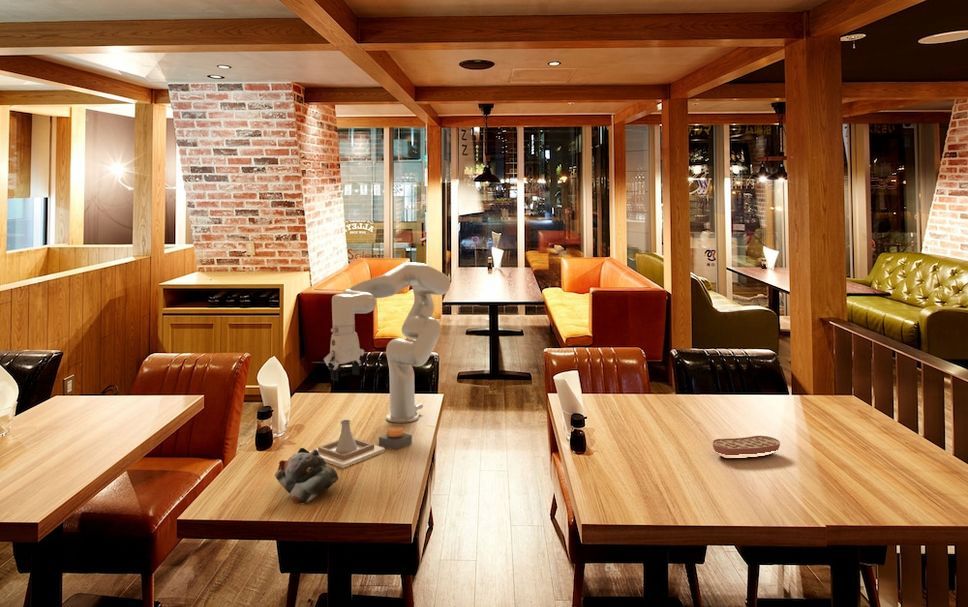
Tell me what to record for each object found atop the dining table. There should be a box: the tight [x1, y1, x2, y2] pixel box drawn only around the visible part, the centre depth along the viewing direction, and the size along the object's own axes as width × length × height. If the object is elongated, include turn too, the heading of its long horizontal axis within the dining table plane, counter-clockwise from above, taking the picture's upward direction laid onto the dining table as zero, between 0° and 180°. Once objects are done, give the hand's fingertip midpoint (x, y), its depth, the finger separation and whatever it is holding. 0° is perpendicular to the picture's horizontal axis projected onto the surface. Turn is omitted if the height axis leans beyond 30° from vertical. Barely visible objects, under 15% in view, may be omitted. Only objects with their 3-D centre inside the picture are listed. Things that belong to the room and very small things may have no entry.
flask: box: [336, 419, 357, 453], centre depth 213 cm, size 7×7×10 cm
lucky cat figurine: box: [274, 447, 339, 504], centre depth 182 cm, size 15×12×14 cm
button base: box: [378, 432, 413, 451], centre depth 222 cm, size 8×8×3 cm
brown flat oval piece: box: [712, 435, 781, 455], centre depth 210 cm, size 23×10×5 cm, turn 102°
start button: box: [385, 426, 405, 438], centre depth 221 cm, size 6×6×4 cm
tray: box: [308, 437, 386, 469], centre depth 213 cm, size 18×18×3 cm
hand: (345, 377), depth 225 cm, fingers open, 9 cm apart
